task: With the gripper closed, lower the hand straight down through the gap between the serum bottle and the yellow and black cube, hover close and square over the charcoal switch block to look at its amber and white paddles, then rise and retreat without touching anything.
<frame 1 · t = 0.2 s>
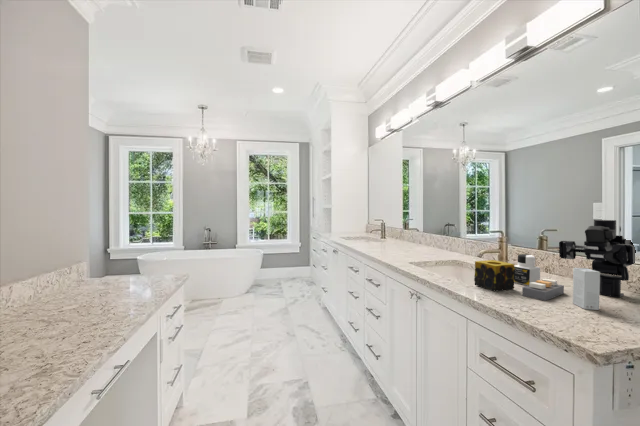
hand: (584, 254, 95), 17 cm above the countertop, tool horizontal, fingers open, 9 cm apart
medicine bottle: (525, 283, 125), on the countertop
middle paddle: (543, 283, 109), point 4 cm above the countertop, hinge at 0.0°
skincare box: (585, 307, 96), on the countertop
yellow and black cube: (493, 287, 119), on the countertop
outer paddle: (537, 285, 106), point 4 cm above the countertop, hinge at 0.0°
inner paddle: (549, 281, 111), point 4 cm above the countertop, hinge at 0.0°
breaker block: (543, 294, 109), on the countertop
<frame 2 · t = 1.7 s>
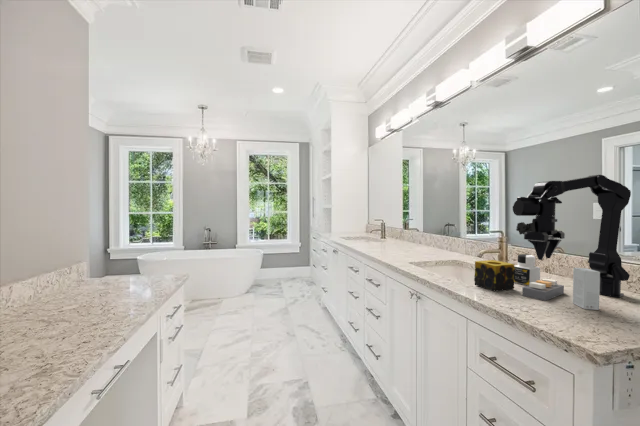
hand: (544, 258, 108), 13 cm above the countertop, tool pointing down, fingers open, 6 cm apart
nothing on the countertop moved.
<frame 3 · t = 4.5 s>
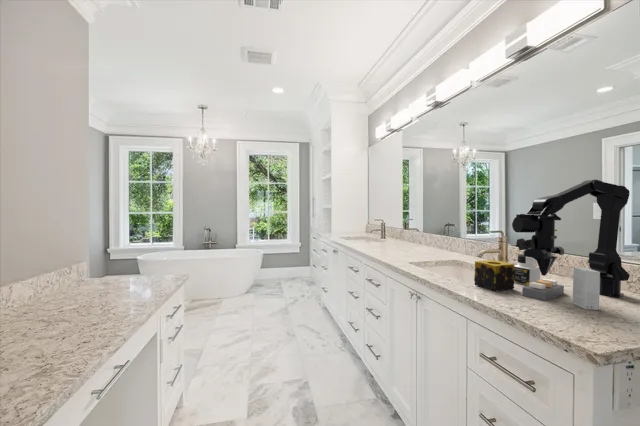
hand: (543, 275, 109), 7 cm above the countertop, tool pointing down, fingers closed
nothing on the countertop moved.
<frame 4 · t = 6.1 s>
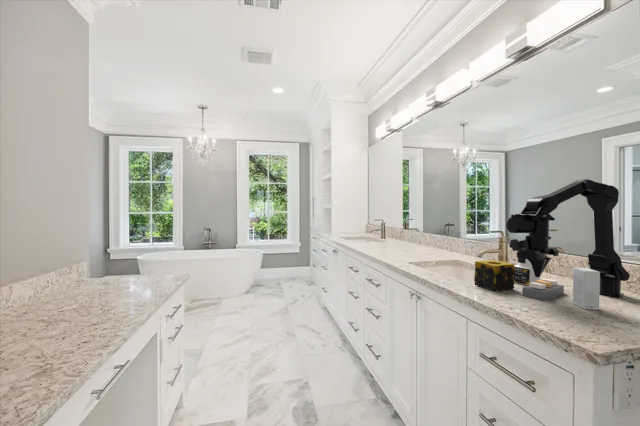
hand: (537, 277, 106), 7 cm above the countertop, tool pointing down, fingers closed
nothing on the countertop moved.
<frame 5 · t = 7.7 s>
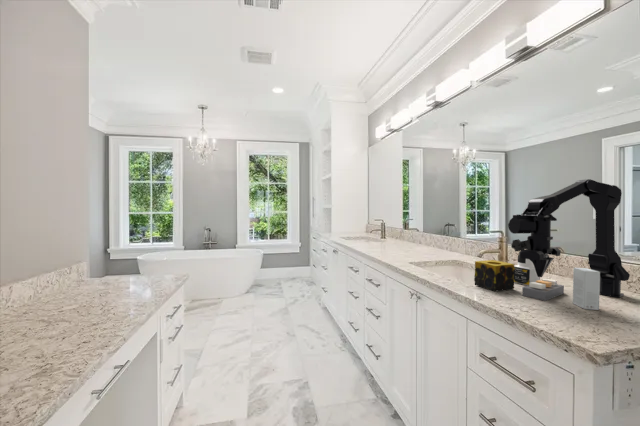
hand: (539, 277, 107), 7 cm above the countertop, tool pointing down, fingers closed
nothing on the countertop moved.
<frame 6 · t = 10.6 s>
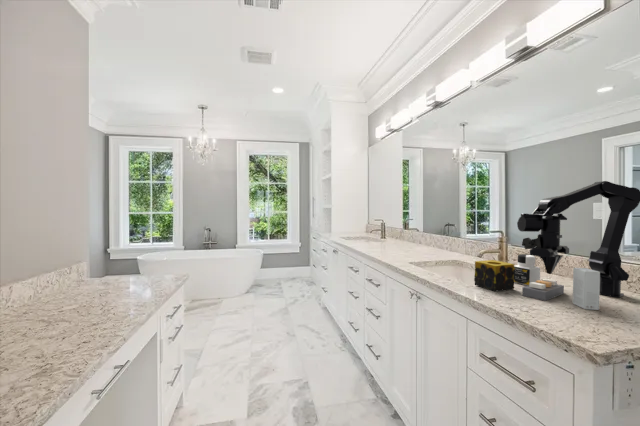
hand: (549, 273, 111), 7 cm above the countertop, tool pointing down, fingers closed
nothing on the countertop moved.
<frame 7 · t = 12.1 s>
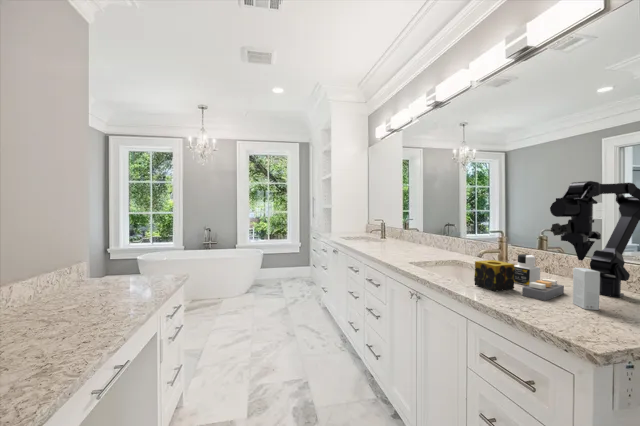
hand: (580, 260, 107), 13 cm above the countertop, tool pointing down, fingers closed
nothing on the countertop moved.
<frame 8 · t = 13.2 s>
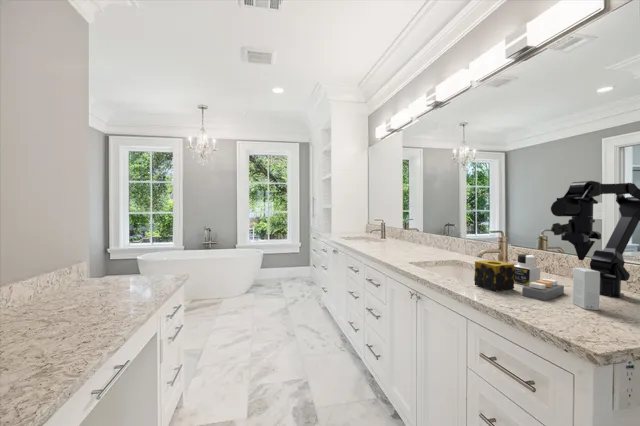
hand: (581, 260, 107), 13 cm above the countertop, tool pointing down, fingers closed
nothing on the countertop moved.
at the end: middle paddle at +0° (first picture: +0°); skincare box moved 0.2 cm from its start; yellow and black cube moved 0.3 cm from its start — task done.
